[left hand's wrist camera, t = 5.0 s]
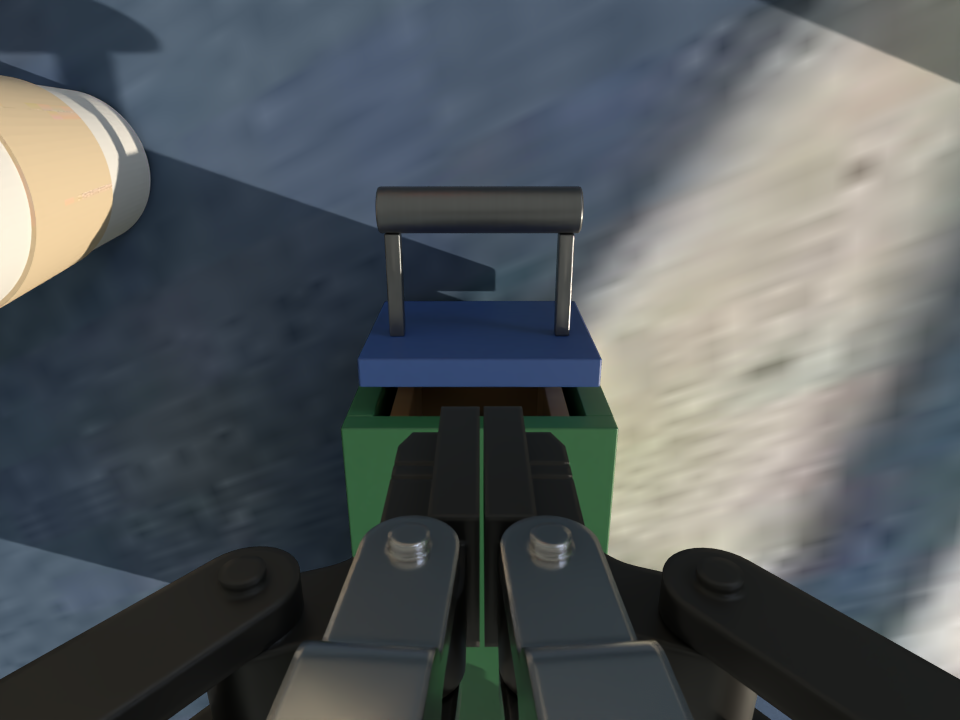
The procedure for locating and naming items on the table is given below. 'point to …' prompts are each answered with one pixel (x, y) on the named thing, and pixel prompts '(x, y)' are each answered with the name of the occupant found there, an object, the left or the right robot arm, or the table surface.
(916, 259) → the table surface
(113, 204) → the coffee cup
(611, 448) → the green box
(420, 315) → the drawer
